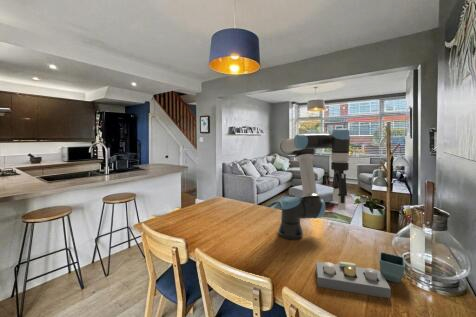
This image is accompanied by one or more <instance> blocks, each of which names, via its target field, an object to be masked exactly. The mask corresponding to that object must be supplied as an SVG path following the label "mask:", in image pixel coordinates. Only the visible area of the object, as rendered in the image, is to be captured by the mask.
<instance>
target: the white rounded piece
mask: <svg viewBox="0 0 476 317" xmlns="http://www.w3.org/2000/svg"><path fill="white" fill-rule="evenodd" d="M334 264H335V263H332V262H329V261H328V262H324V273H326V274H333V275H335V265H334Z"/></svg>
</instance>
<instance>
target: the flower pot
mask: <svg viewBox="0 0 476 317" xmlns="http://www.w3.org/2000/svg"><path fill="white" fill-rule="evenodd" d="M405 268H406V264H405V257H403V256H400V255H395V254H391V253H387V252H382V251H380V252H379V270H380V272H381V273H382V275H383V277H384V278H385V280H386V281H390V282H394V283H396V284H398V283H400V282H401V281H402V280H403V277H404V273H405Z"/></svg>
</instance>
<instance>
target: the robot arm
mask: <svg viewBox="0 0 476 317" xmlns="http://www.w3.org/2000/svg"><path fill="white" fill-rule="evenodd" d="M350 134H351V133H350V129H348V128H336V129H333V130H332V132H331V133H298V134H296V135H295V136H294V137H293V138H286V139H283V140H282V141H281V142H280V145H279V149H280V151H281V152H282V153H283V154H285V155H287V156H295V158H296V160H298V164H299V172H300V178H301V179H300V180H301V187H302V195H301V198H300V197H298V196H289V197H285V198H283V199H282V200H281V206H280V208H281V216H280V218H281V222H280V225H279V228H278V235H279V236H280V237H281V238H283V239H286V240H299V239H302V238H303V236H304V231H303V229H302V226H301V219H302V220H303V219H305V220H307V219H322V218H323V217H324V215H325V212H326V203H325V200H324V199H323V198H321V196H320V194H318V191H317V185H316V184H317V183H316V178H315V172H314V165H313V158H314V155H315V154H316V152H317V149H319V150H321V149H331V155H330V156H331V159H330V160H331V161H332V162H330V165H331V166H330V169H331V170H332V171H333V177H332V184H331V185H332V202H338V207H337V209H338V210H340V211H345V210H346V197H347V196H348V188H347V174H346V173H345V171H348V170H349V167H350V166H349V164H350V163H349V161H350V160H349V159H350V158H351V154H350V141H351V140H350V139H351V135H350Z"/></svg>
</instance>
